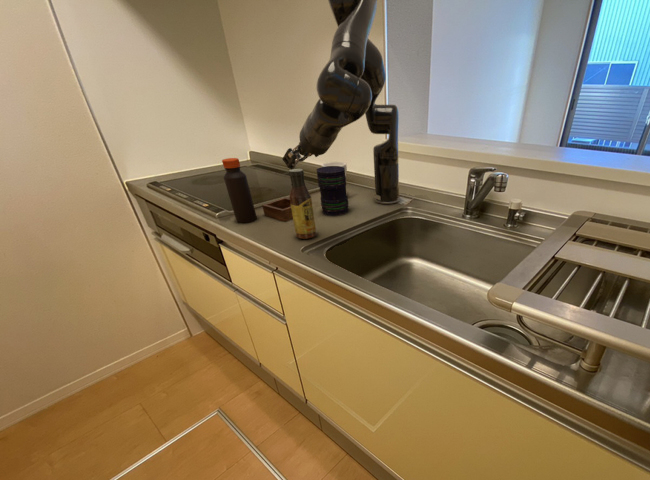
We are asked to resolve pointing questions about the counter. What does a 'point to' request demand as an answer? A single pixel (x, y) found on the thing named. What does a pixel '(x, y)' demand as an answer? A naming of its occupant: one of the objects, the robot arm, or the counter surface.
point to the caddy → (279, 209)
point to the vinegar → (238, 191)
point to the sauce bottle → (301, 206)
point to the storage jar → (333, 190)
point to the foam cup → (335, 165)
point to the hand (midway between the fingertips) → (302, 159)
